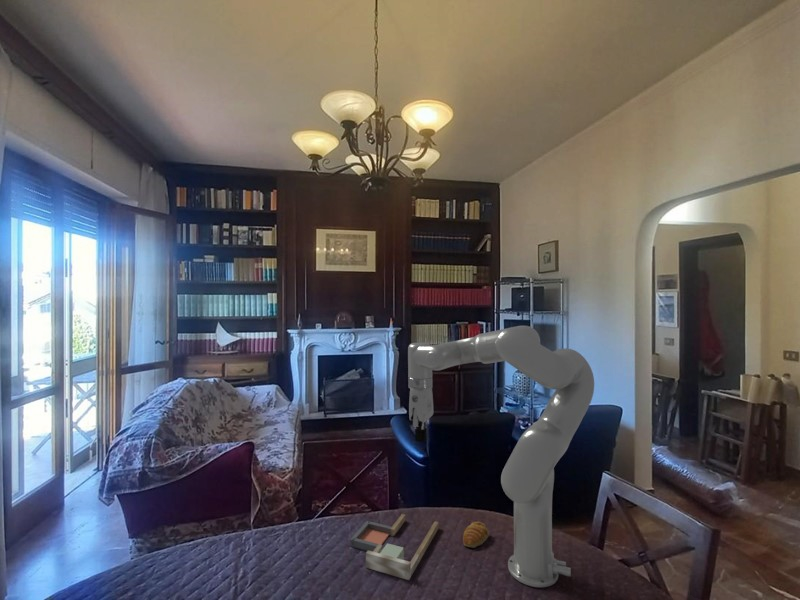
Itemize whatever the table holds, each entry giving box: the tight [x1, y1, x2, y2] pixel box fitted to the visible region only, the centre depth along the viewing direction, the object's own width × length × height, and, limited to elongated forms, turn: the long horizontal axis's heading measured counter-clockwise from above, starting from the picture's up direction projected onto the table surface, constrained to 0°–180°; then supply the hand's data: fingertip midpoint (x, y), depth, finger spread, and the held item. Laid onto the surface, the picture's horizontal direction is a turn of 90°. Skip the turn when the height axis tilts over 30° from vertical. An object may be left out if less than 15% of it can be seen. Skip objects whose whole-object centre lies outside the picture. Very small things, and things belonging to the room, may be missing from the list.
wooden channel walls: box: [365, 513, 440, 581], centre depth 118 cm, size 12×25×4 cm, turn 157°
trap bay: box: [349, 520, 392, 552], centre depth 121 cm, size 9×10×2 cm
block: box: [380, 542, 405, 560], centre depth 110 cm, size 5×5×4 cm
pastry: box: [462, 521, 491, 549], centre depth 120 cm, size 9×7×4 cm
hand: (420, 440), depth 127 cm, fingers closed
